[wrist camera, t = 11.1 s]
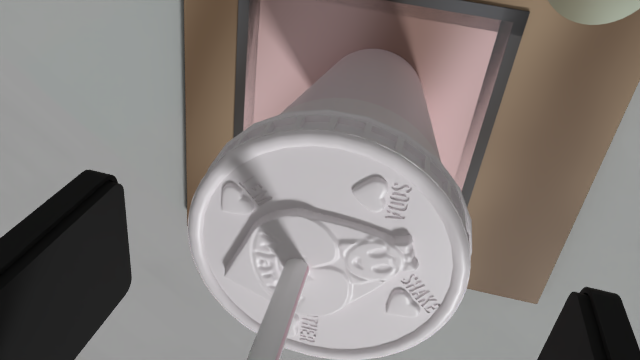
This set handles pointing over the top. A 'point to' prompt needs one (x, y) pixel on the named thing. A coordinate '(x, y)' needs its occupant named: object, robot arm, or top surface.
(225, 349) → the top surface
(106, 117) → the top surface
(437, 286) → the smoothie
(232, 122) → the picture board
